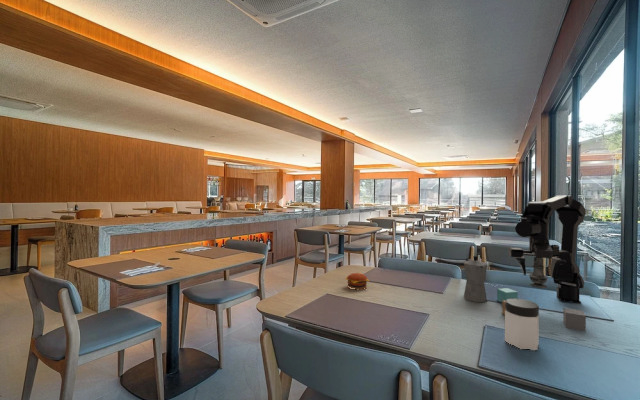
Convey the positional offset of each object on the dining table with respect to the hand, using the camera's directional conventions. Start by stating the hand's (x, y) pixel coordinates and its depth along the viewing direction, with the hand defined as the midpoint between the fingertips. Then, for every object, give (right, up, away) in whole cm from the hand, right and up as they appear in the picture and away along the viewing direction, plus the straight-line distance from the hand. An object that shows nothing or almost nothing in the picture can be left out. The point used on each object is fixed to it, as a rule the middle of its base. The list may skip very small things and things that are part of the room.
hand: (538, 276), depth 113 cm
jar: (-23, -14, -25) cm, 37 cm away
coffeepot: (-17, -13, +15) cm, 26 cm away
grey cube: (+2, -13, -14) cm, 19 cm away
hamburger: (-65, -13, +30) cm, 72 cm away
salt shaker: (0, -4, 0) cm, 4 cm away
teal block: (-6, -13, +9) cm, 17 cm away
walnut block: (-13, -13, -5) cm, 19 cm away
